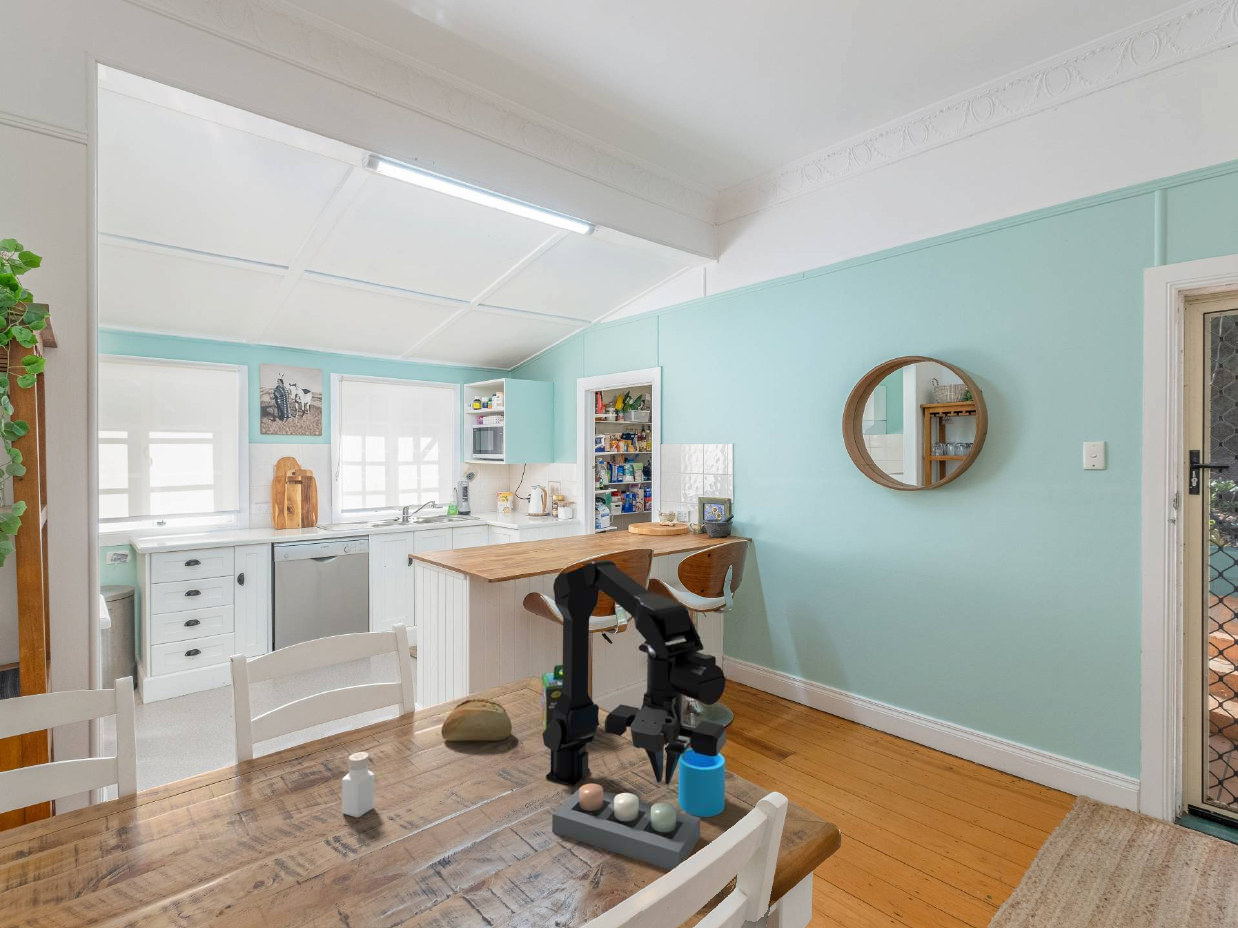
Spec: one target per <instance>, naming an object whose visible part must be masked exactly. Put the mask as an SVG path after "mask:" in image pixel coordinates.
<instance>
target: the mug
mask: <svg viewBox="0 0 1238 928" xmlns="http://www.w3.org/2000/svg"><path fill="white" fill-rule="evenodd" d="M725 783H726V759H725V757H724V756H723V754H721V752H719V753H718V755H717V756H713V757H711V756H706V755H702V754H698V753H695V752H694V751H693V749H692V748H691V747H690V748H688V749H687V750H686V752H685V753H683V754H681V756H680V758H679V760H678V791H677V792H678V795H677V796H678V799H677V801H678V802H677V803H678V806H679V807H680V809H681V810H682V811H684V813H685V814H688V815H691V816H695V817H699V818H702V817H705V818H708V817H709V818H710V817H714V816H718V815H719V814H721V813H722V812H723V811H724V809H725V800H726V799H725V797H726V796H725V793H726V792H725V790H726V788H725V787H726V786H725V785H726V784H725Z"/></svg>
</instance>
